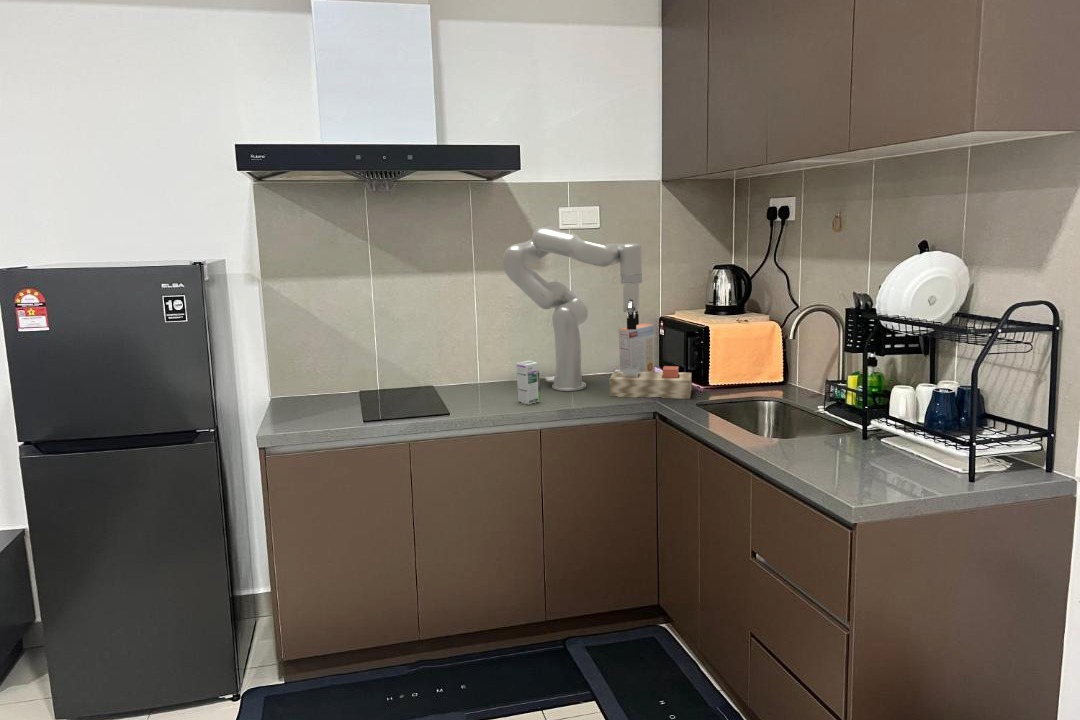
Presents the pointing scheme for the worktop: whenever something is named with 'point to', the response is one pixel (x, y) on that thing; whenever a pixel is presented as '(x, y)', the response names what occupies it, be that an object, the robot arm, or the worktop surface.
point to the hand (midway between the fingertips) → (633, 327)
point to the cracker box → (637, 347)
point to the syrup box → (528, 381)
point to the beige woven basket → (651, 385)
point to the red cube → (671, 372)
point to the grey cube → (631, 371)
